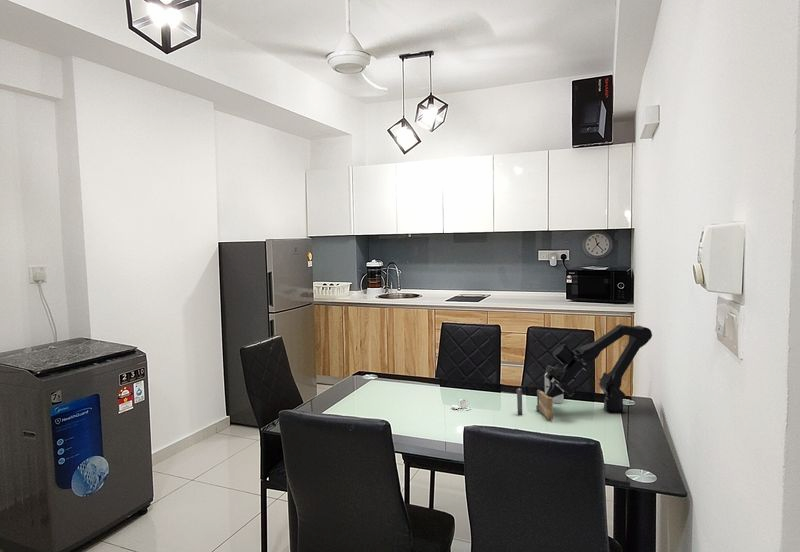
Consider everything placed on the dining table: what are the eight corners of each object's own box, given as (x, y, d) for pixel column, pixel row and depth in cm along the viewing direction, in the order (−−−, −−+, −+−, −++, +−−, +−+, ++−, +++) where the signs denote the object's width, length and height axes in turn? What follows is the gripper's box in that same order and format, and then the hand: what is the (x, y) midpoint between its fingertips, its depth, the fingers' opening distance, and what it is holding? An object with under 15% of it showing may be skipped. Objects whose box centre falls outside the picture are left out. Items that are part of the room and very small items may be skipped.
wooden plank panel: (541, 407, 217) (540, 388, 216) (552, 418, 203) (552, 398, 202) (536, 407, 217) (536, 388, 216) (548, 419, 202) (547, 398, 202)
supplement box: (544, 402, 227) (543, 375, 226) (547, 397, 234) (547, 371, 233) (561, 404, 224) (560, 376, 223) (564, 399, 230) (563, 372, 230)
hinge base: (541, 409, 217) (541, 405, 217) (543, 411, 215) (543, 407, 215) (535, 409, 217) (535, 405, 217) (537, 411, 215) (537, 407, 214)
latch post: (522, 413, 213) (521, 387, 213) (523, 415, 211) (522, 388, 210) (516, 413, 213) (515, 387, 213) (517, 415, 211) (517, 389, 210)
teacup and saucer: (449, 410, 222) (449, 401, 222) (456, 405, 229) (456, 396, 229) (468, 413, 218) (468, 403, 218) (474, 407, 225) (474, 398, 225)
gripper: (548, 354, 219) (525, 380, 219) (565, 363, 200) (539, 392, 200) (567, 370, 220) (543, 397, 220) (585, 381, 201) (559, 410, 201)
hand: (545, 398), depth 210 cm, fingers closed, pressing on wooden plank panel
